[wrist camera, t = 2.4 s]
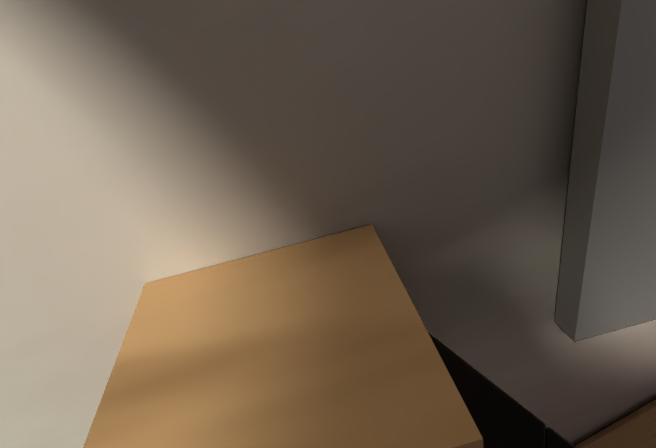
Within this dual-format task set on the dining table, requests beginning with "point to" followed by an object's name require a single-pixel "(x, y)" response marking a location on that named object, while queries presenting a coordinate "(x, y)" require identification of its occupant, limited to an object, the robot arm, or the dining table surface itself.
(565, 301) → the charcoal mat
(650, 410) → the decorative block
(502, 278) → the dining table surface
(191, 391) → the oak cube
